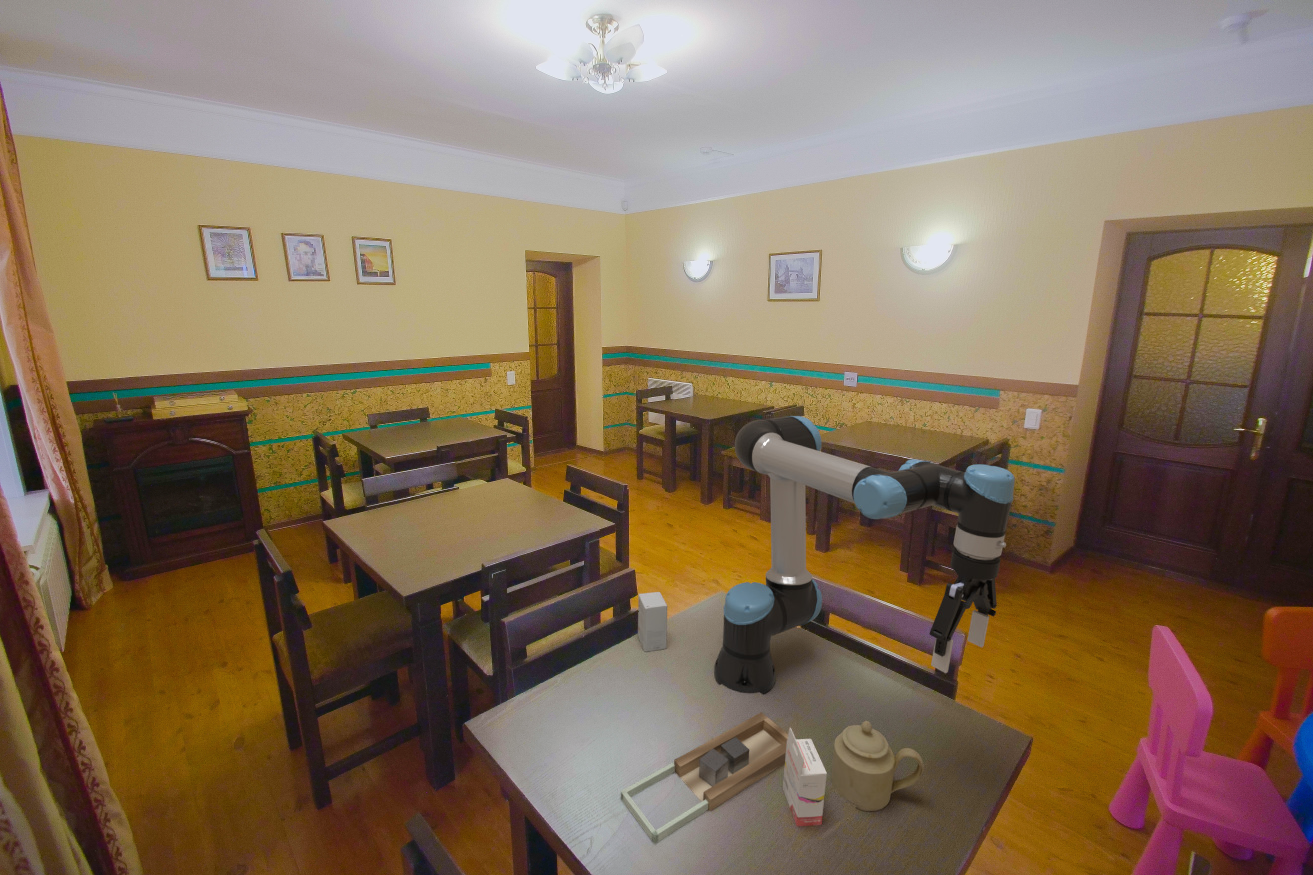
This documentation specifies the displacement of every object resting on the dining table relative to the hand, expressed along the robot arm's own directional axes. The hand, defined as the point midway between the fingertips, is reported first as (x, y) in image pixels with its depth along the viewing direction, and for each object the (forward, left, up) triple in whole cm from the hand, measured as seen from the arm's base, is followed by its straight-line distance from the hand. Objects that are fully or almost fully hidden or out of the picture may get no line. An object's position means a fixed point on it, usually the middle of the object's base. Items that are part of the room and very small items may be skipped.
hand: (958, 655), depth 105 cm
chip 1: (-25, -38, -26) cm, 52 cm away
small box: (-70, -21, -28) cm, 78 cm away
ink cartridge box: (-11, -28, -28) cm, 41 cm away
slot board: (-25, -31, -27) cm, 48 cm away
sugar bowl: (-7, -13, -28) cm, 31 cm away
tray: (-25, -49, -27) cm, 62 cm away
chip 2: (-25, -32, -26) cm, 49 cm away
